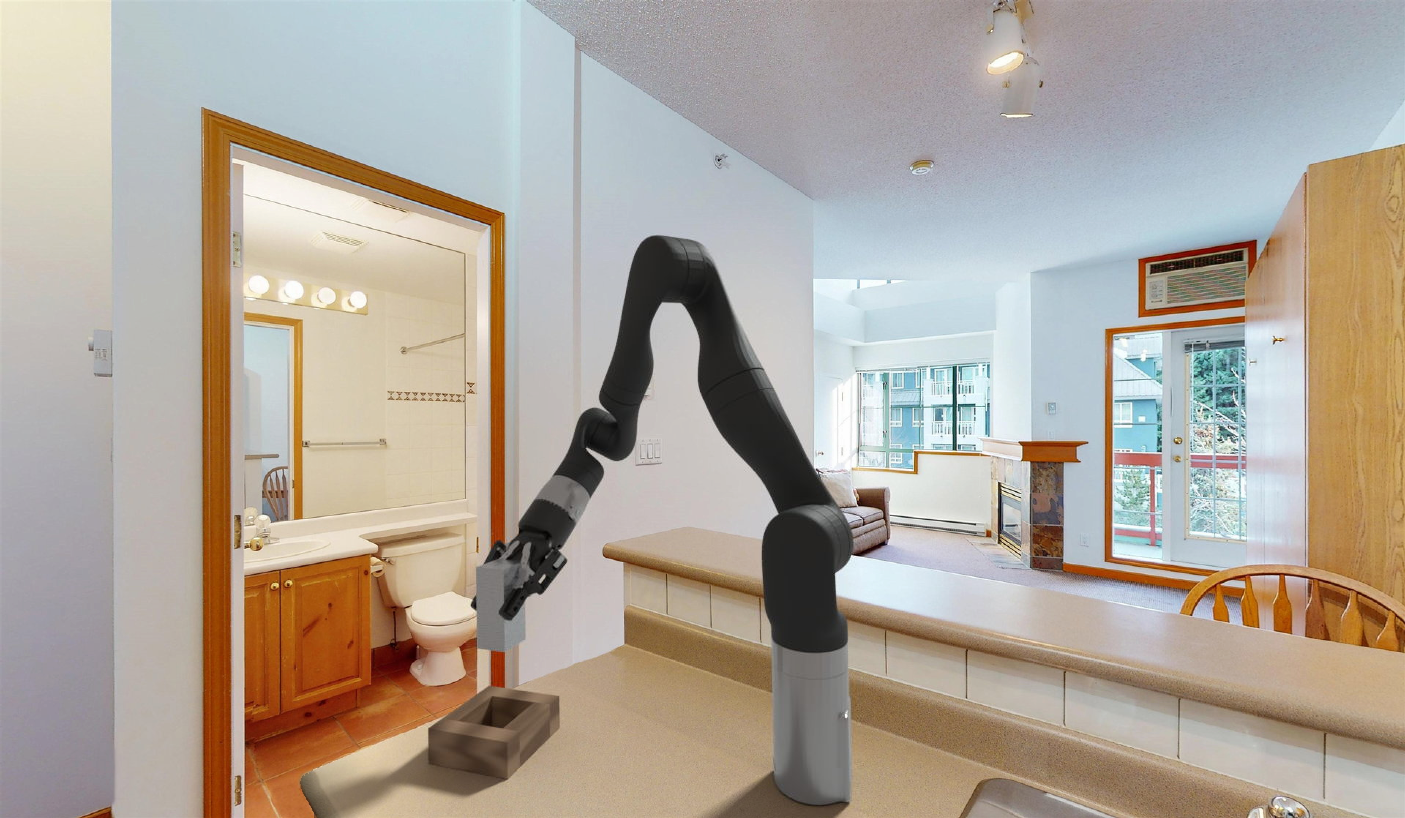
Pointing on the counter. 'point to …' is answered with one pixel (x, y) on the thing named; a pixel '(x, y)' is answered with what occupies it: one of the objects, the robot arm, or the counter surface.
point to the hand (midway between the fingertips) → (490, 613)
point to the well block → (494, 731)
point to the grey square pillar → (497, 606)
